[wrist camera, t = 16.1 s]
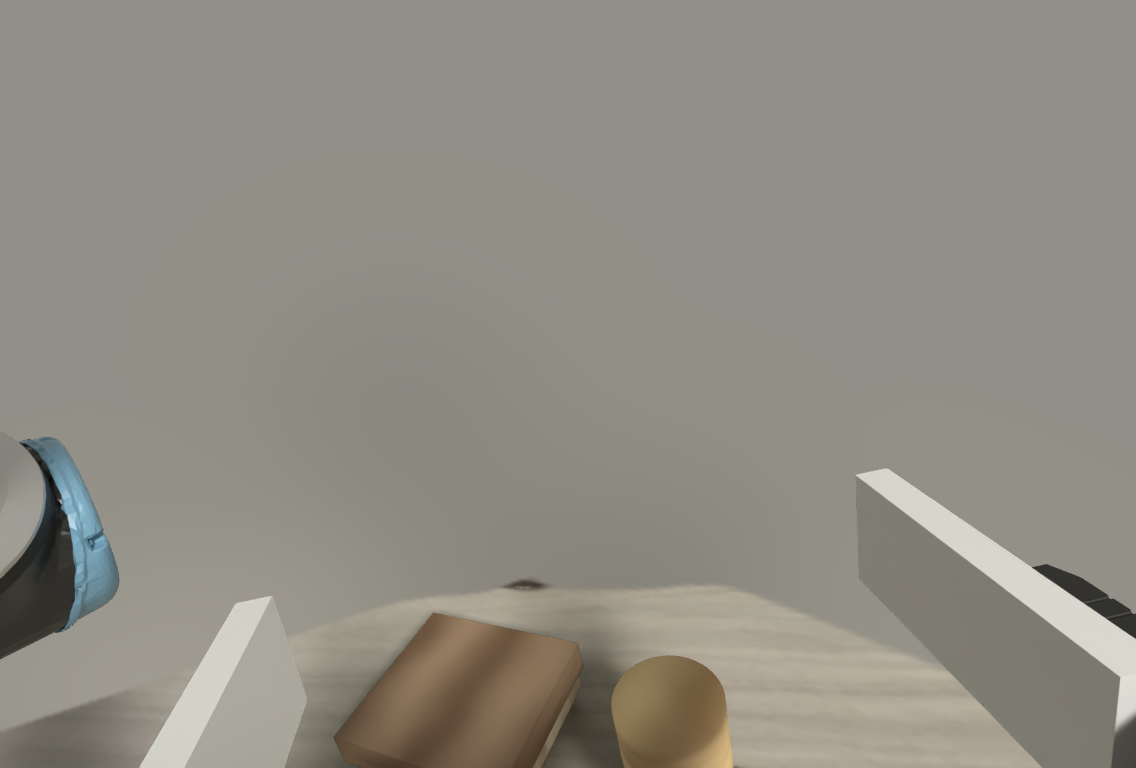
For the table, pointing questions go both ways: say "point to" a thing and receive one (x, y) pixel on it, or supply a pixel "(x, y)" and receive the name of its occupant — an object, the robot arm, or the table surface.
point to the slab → (465, 700)
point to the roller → (671, 716)
